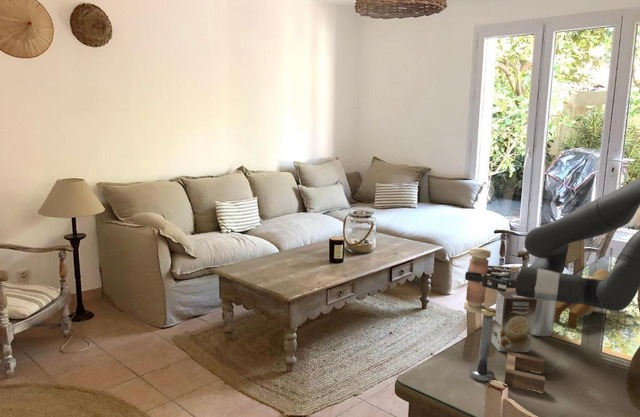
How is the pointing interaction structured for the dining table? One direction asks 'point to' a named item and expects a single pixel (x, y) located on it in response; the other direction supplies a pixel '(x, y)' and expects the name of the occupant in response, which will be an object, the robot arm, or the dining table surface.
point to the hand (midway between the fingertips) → (467, 272)
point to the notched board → (523, 378)
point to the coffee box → (513, 322)
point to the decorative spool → (578, 309)
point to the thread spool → (475, 288)
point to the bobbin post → (484, 348)
